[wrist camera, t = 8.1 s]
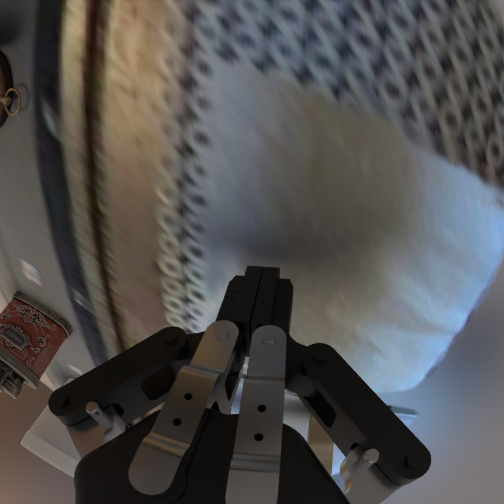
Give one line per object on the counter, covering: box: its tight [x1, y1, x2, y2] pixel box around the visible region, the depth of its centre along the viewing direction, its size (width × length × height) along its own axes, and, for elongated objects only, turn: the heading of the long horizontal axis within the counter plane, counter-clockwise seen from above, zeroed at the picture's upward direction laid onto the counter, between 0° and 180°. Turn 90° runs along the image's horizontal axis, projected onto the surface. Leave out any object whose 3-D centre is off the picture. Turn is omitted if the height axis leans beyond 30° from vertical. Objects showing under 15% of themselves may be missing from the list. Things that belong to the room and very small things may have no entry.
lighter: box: [0, 291, 72, 399], centre depth 22 cm, size 8×3×10 cm, turn 72°
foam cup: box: [21, 378, 81, 477], centre depth 31 cm, size 10×9×13 cm
